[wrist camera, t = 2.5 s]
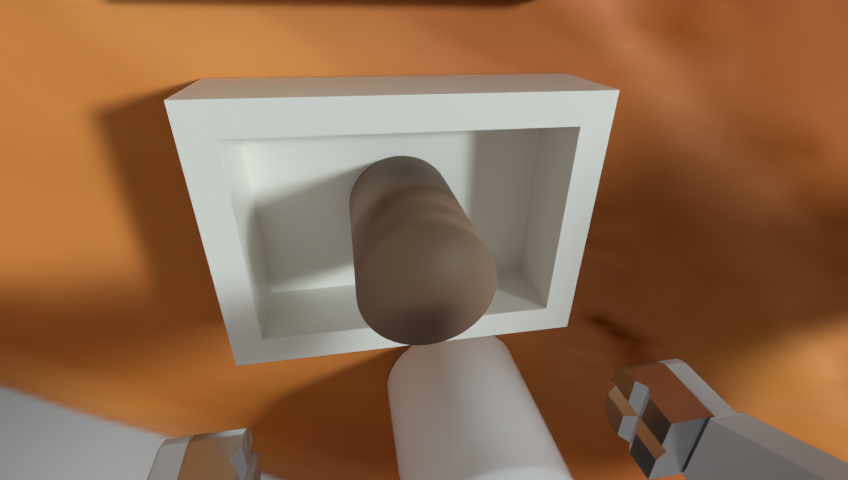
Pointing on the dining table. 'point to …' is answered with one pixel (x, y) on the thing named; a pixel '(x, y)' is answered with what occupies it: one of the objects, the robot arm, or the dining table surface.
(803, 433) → the dining table surface
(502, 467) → the pill bottle
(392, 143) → the white storage bin
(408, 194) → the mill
